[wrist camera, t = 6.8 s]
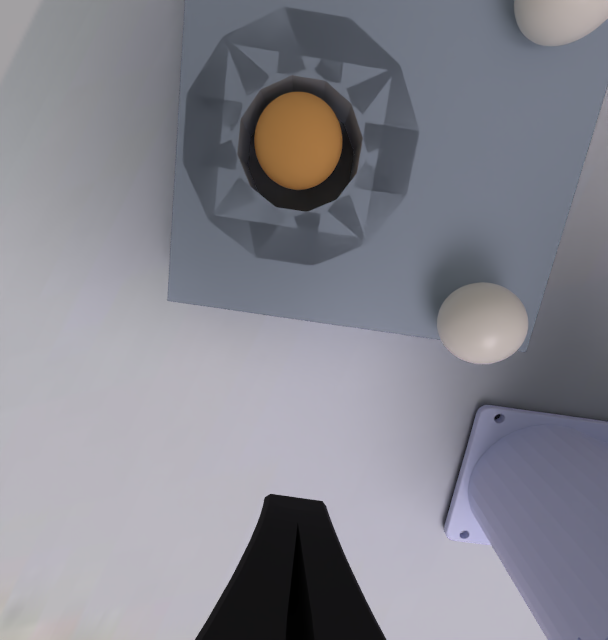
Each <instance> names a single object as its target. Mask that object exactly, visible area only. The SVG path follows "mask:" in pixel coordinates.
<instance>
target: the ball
mask: <svg viewBox="0 0 608 640" xmlns="http://www.w3.org/2000/svg"><path fill="white" fill-rule="evenodd" d="M254 144H255V151H256V156H257V159H258V161H259V163H260V165H261V167H262V169H263V170H264V172H265V173H266V174H267V175H268V176H269V178H270V179H272V180H273V181H274V182H276V183H277V184H279V185H281V186H283V187H285V188H289V189H294V190H304V189H309V188H312V187H315V186H317V185H319V184H320V183H322V182H323V181H324V180H326V179H327V178H328V177H329V176H330V175H331V173H332V172H333V171H334V169H335V167H336V166H337V164H338V161H339V159H340V155H341V151H342V131H341V127H340V123H339V121H338V118H337V117H336V115H335V113H334V111H333V110H332V109H331V107H330V106H329V105H328V104H327V103H326V102H325V101H324V100H322V99H321V98H319V97H317V96H315V95H313V94H310V93H307V92H289V93H286V94H283V95H281V96H279V97H277V98H276V99H274V100H273V101H272V102H271V103H270V104H268V105H267V107H266V108H265V109H264V110H263V112H262V114H261V115H260V117H259V119H258V122H257V125H256V129H255V136H254Z"/></svg>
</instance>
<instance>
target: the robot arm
mask: <svg viewBox="0 0 608 640" xmlns="http://www.w3.org/2000/svg"><path fill="white" fill-rule="evenodd" d="M497 414H501V416H500V417H499V418H498V419H494V418H495V416H496V415H497ZM462 531H465V532H463V533H461V532H462ZM444 532H445V534H446V536H447V538H449V539H450V540H453V541H461V542H469V543H477V544H485V545H492V547H493V549H494V550H495V552H496V554H497V555H498V557H499V559H500V560H501V562H502V564H503V565H504V567H505V569H506V570H507V572H508V574H509V576H510V577H511V579H512V581H513V582H514V584H515V586H516V587H517V589H518V591H519V592H520V594H521V596H522V597H523V599H524V601H525V602H526V604H527V606H528V607H529V609H530V611H531V613H532V614H533V616H534V618H535V619H536V621H537V623H538V624H539V626H540V628H541V629H542V631H543V633H544V634H545V636H546V638H547V639H548V640H608V421H601V420H594V419H587V418H580V417H572V416H565V415H558V414H551V413H544V412H536V411H529V410H522V409H515V408H508V407H500V406H493V405H484V406H482V407H480V408H479V409H478V411H477V413H476V417H475V420H474V424H473V427H472V431H471V434H470V438H469V441H468V445H467V448H466V452H465V455H464V459H463V462H462V466H461V469H460V473H459V476H458V480H457V484H456V487H455V491H454V494H453V498H452V501H451V505H450V508H449V512H448V515H447V519H446V522H445V526H444ZM195 640H386V638H385V636H384V634H383V632H382V630H381V629H380V627H379V625H378V623H377V621H376V619H375V617H374V615H373V613H372V611H371V609H370V607H369V605H368V603H367V601H366V599H365V597H364V595H363V593H362V591H361V589H360V587H359V585H358V583H357V580H356V578H355V576H354V574H353V572H352V570H351V568H350V566H349V563H348V561H347V559H346V557H345V554H344V552H343V549H342V547H341V545H340V542H339V540H338V538H337V535H336V532H335V530H334V527H333V525H332V522H331V519H330V517H329V514H328V511H327V508H326V506H325V504H324V503H323V501H317V500H310V499H303V498H296V497H289V496H282V495H275V494H270V495H268V496H266V497H265V499H264V504H263V508H262V511H261V515H260V517H259V520H258V523H257V525H256V528H255V530H254V532H253V535H252V537H251V539H250V542H249V544H248V546H247V548H246V550H245V552H244V554H243V556H242V558H241V560H240V562H239V564H238V566H237V568H236V570H235V572H234V574H233V576H232V578H231V579H230V581H229V583H228V585H227V587H226V588H225V590H224V592H223V593H222V595H221V597H220V599H219V600H218V602H217V604H216V606H215V607H214V609H213V611H212V613H211V614H210V616H209V618H208V619H207V621H206V623H205V624H204V626H203V628H202V629H201V631H200V632H199V634H198V636H197V637H196V639H195Z"/></svg>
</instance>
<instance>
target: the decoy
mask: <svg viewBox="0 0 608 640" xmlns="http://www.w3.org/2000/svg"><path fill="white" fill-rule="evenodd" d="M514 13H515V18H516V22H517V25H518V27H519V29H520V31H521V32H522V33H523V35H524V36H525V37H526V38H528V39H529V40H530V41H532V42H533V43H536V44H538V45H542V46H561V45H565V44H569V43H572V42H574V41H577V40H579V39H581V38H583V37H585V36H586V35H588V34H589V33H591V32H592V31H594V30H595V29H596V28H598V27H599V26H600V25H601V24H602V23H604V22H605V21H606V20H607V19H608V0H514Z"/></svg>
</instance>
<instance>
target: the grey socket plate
mask: <svg viewBox="0 0 608 640" xmlns="http://www.w3.org/2000/svg"><path fill="white" fill-rule="evenodd" d="M607 86H608V19H607V20H606V21H605V22H604V23H602V24H601V25H600V26H599V27H598V28H596V29H595V30H594V31H592V32H591V33H589V34H588V35H586V36H585V37H583V38H581V39H579V40H577V41H574V42H572V43H569V44H565V45H561V46H542V45H538V44H536V43H533V42H532V41H530V40H529V39H528V38H526V37H525V36H524V35H523V33H522V32H521V31H520V29H519V27H518V25H517V22H516V18H515V13H514V0H185V8H184V25H183V42H182V59H181V77H180V94H179V111H178V128H177V145H176V162H175V179H174V196H173V213H172V230H171V247H170V265H169V282H168V299H167V301H173V302H179V303H186V304H193V305H200V306H207V307H214V308H221V309H228V310H235V311H242V312H249V313H256V314H263V315H270V316H277V317H284V318H291V319H298V320H305V321H312V322H319V323H326V324H332V325H339V326H346V327H353V328H360V329H367V330H374V331H381V332H388V333H395V334H402V335H409V336H416V337H423V338H430V339H437V340H441V339H440V337H439V334H438V330H437V317H438V313H439V310H440V307H441V305H442V304H443V302H444V301H445V299H446V298H447V297H448V296H449V295H450V294H451V293H452V292H454V291H455V290H457V289H458V288H460V287H463V286H465V285H468V284H472V283H479V282H485V283H493V284H497V285H500V286H502V287H505V288H506V289H508V290H510V291H511V292H512V293H514V294H515V295H516V296H517V297H518V298H519V299H520V301H521V302H522V304H523V305H524V307H525V309H526V312H527V316H528V331H527V335H526V338H525V340H524V342H523V343H522V345H521V346H520V348H519V349H518V350H517V351H520V352H526V351H527V347H528V344H529V341H530V338H531V334H532V331H533V328H534V324H535V321H536V318H537V315H538V311H539V308H540V305H541V302H542V298H543V295H544V292H545V289H546V285H547V282H548V279H549V275H550V272H551V269H552V266H553V262H554V259H555V256H556V253H557V249H558V246H559V243H560V240H561V236H562V233H563V230H564V226H565V223H566V220H567V217H568V213H569V210H570V207H571V204H572V200H573V197H574V194H575V191H576V187H577V184H578V181H579V177H580V174H581V171H582V168H583V164H584V161H585V158H586V155H587V151H588V148H589V145H590V142H591V138H592V135H593V132H594V128H595V125H596V122H597V119H598V115H599V112H600V109H601V106H602V102H603V99H604V96H605V93H606V89H607ZM289 92H307V93H310V94H313V95H315V96H317V97H319V98H321V99H322V100H324V101H325V102H326V103H327V104H328V105H329V106H330V107H331V109H332V110H333V111H334V113H335V115H336V117H337V118H338V119H339V120H340V121H341V122H342V123H343V124H344V125H345V128H346V131H347V134H348V137H349V140H350V143H351V146H352V149H353V151H354V156H353V162H352V168H351V174H350V180H349V183H348V184H347V186H346V187H345V188H344V190H343V191H342V192H341V194H340V195H339V196H338V197H337V199H336V200H334V201H332V202H330V203H327V204H325V205H322V206H320V207H317V208H315V209H313V210H310V211H308V212H305V211H298V210H292V209H285V208H278V207H275V206H274V205H273V204H271V203H270V202H269V201H268V200H266V199H265V198H264V197H263V196H261V195H260V194H259V193H258V190H257V188H256V185H255V183H254V181H253V178H252V176H251V173H250V171H249V168H248V160H249V150H250V141H251V136H252V134H253V133H254V132H255V129H256V125H257V122H258V119H259V117H260V115H261V114H262V112H263V110H264V109H265V108H266V107H267V105H268V104H270V103H271V102H272V101H273V100H274V99H276V98H277V97H279V96H281V95H283V94H286V93H289Z"/></svg>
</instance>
